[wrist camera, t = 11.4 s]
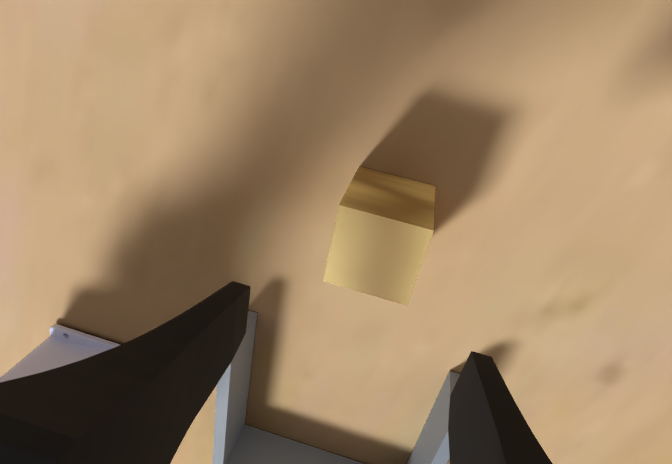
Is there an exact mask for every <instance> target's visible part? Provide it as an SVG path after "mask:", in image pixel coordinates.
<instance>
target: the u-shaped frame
mask: <svg viewBox="0 0 672 464" xmlns="http://www.w3.org/2000/svg"><path fill="white" fill-rule="evenodd" d="M256 322H257V313H256V312H252V311H249V310H248V316H247V327H246V334H245V336H244V338H243V340H242V342H241V344H240V346H239V348H238V350H237V352H236V354H235V356H234V358H233V360H232V362H231V363H230V365H229V366H228V368H227V369H226V371H225V373H224V374H223V376H222V377H221V379H220V380H219V382H218V383H217V394H216V412H215V430H214V448H213V464H364V463H361V462H358V461H354V460H351V459H348V458H345V457H342V456H339V455H336V454H333V453H330V452H327V451H324V450H321V449H318V448H315V447H312V446H309V445H306V444H303V443H300V442H297V441H294V440H291V439H288V438H285V437H282V436H279V435H276V434H273V433H270V432H267V431H264V430H261V429H258V428H255V427H252V426H249V425H246V424H245V419H246V410H247V401H248V392H249V384H250V375H251V366H252V357H253V349H254V340H255V331H256ZM459 376H460V374H459V373H456V372H452V371H449V373H448V376H447V378H446V380H445V382H444V384H443V386H442V389H441V391H440V393H439V395H438V397H437V399H436V402H435V404H434V406H433V408H432V410H431V412H430V415H429V417H428V419H427V421H426V423H425V425H424V428H423V430H422V432H421V434H420V436H419V438H418V440H417V443H416V445H415V447H414V449H413V451H412V453H411V456H410V458H409V460H408V462H407V464H447V462H448V460H449V458H450V455H449V437H448V420H449V405H450V395H451V393H452V391H453V388H454V386H455V384H456V382H457V380H458V378H459Z"/></svg>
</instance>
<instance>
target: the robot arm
mask: <svg viewBox="0 0 672 464" xmlns="http://www.w3.org/2000/svg"><path fill="white" fill-rule="evenodd" d="M249 296H250V286H247V285H244V284H240V283H237V282H234V281H233V282H231V283H229V284H227V285H226V286H224V287H223V288H221V289H220V290H218V291H217V292H215V293H214V294H212V295H211V296H209V297H208V298H206V299H204V300H203V301H201V302H200V303H198V304H197V305H195V306H193V307H192V308H190V309H189V310H187V311H185V312H184V313H182V314H180V315H179V316H177V317H175V318H173V319H172V320H170V321H168V322H166V323H164V324H163V325H161V326H159V327H157V328H155V329H153V330H151V331H149V332H147V333H145V334H143V335H141V336H139V337H137V338H135V339H133V340H131V341H129V342H126V343H124V344H122V345H120V344H117V343H114V342H111V341H108V340H105V339H101V338H98V337H95V336H92V335H89V334H86V333H83V332H80V331H76V330H73V329H70V328H67V327H64V326H61V325H57V324H54V325H53V326H51V327H50V334H51V336H50V337H49V338H47V339H46V340H45V341H44V342H43V343H41V344H40V345H39V346H38V347H37V348H35V349H34V350H33V351H32V352H31V353H29V354H28V355H27V356H26V357H25V358H23V359H22V360H21V361H20V362H19V363H17V364H16V365H15V366H14V367H13V368H11V369H10V370H9V371H8V372H7V373H5V374H4V375H3V376H2V377H1V378H0V464H170V463H171V461H172V459H173V457H174V455H175V453H176V451H177V449H178V447H179V445H180V443H181V442H182V440H183V438H184V436H185V434H186V432H187V430H188V429H189V427H190V425H191V424H192V422H193V420H194V419H195V417H196V415H197V414H198V412H199V411H200V409H201V408H202V406H203V405H204V403H205V402H206V400H207V399H208V397H209V396H210V394H211V393H212V391H213V389H214V388H215V386H216V385H217V383H218V382H219V380H220V379H221V377H222V376H223V374H224V373H225V371H226V369H227V368H228V366H229V365H230V363H231V362H232V360H233V358H234V356H235V354H236V352H237V350H238V348H239V346H240V344H241V342H242V340H243V338H244V336H245V334H246V327H247V316H248V306H249ZM448 437H449V455H450V464H552V462H551V461H550V459H549V458H548V456H547V455H546V453H545V452H544V450H543V449H542V447H541V446H540V444H539V442H538V441H537V439H536V438H535V436H534V434H533V433H532V431H531V429H530V428H529V426H528V424H527V422H526V421H525V419H524V417H523V415H522V414H521V412H520V410H519V408H518V407H517V405H516V403H515V401H514V399H513V397H512V396H511V394H510V392H509V390H508V388H507V386H506V384H505V382H504V380H503V378H502V376H501V374H500V372H499V370H498V369H497V367H496V365H495V363H494V361H493V359H492V357H490V356H486V355H483V354H479V353H476V352H472V351H471V353H470V355H469V357H468V359H467V361H466V364H465V366H464V368H463V370H462V372H461V374H460V376H459V378H458V380H457V382H456V384H455V386H454V388H453V391H452V393H451V395H450V405H449V420H448Z"/></svg>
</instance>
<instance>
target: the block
mask: <svg viewBox="0 0 672 464" xmlns="http://www.w3.org/2000/svg"><path fill="white" fill-rule="evenodd" d="M434 210H435V186H433V185H429V184H425V183H421V182H418V181H414V180H410V179H406V178H402V177H398V176H394V175H391V174H387V173H383V172H379V171H375V170H371V169H367V168H364V167H360V166H359V168H358V170H357V172H356V174H355V176H354V177H353V179H352V181H351V183H350V185H349V187H348V189H347V191H346V193H345V195H344V196H343V198H342V200H341V202H340V204H339V207H338V212H337V217H336V222H335V226H334V231H333V236H332V241H331V245H330V250H329V255H328V259H327V264H326V269H325V274H324V278H323V281H324V282H328V283H331V284H335V285H338V286H341V287H345V288H348V289H352V290H355V291H359V292H362V293H366V294H369V295H372V296H376V297H379V298H383V299H386V300H390V301H393V302H397V303H400V304H403V305H408V302H409V299H410V297H411V294H412V291H413V288H414V285H415V282H416V280H417V277H418V274H419V271H420V268H421V265H422V263H423V260H424V257H425V254H426V251H427V248H428V246H429V243H430V240H431V237H432V234H433V231H434Z"/></svg>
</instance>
